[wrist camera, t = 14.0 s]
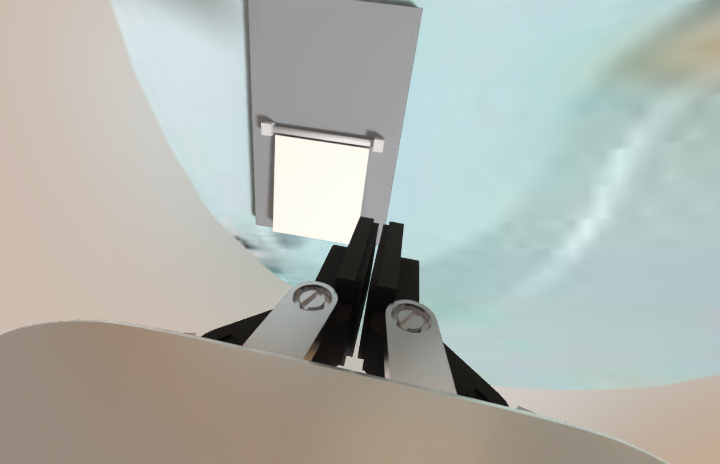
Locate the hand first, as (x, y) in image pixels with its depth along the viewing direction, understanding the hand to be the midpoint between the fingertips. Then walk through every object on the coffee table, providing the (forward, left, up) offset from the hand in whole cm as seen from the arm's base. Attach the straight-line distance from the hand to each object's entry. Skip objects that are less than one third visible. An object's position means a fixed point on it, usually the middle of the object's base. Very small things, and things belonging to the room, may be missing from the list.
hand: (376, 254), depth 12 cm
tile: (+6, -7, -21) cm, 23 cm away
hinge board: (0, -7, -25) cm, 26 cm away
